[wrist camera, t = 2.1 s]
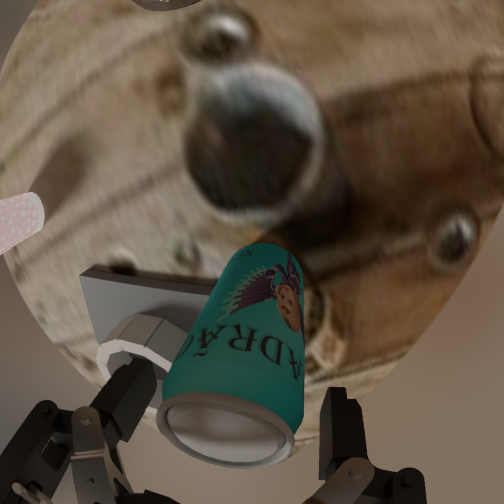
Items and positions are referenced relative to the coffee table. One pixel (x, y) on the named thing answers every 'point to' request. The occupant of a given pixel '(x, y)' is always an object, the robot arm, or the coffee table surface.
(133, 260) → the coffee table surface
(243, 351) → the beverage can
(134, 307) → the mount plate
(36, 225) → the beverage cup
